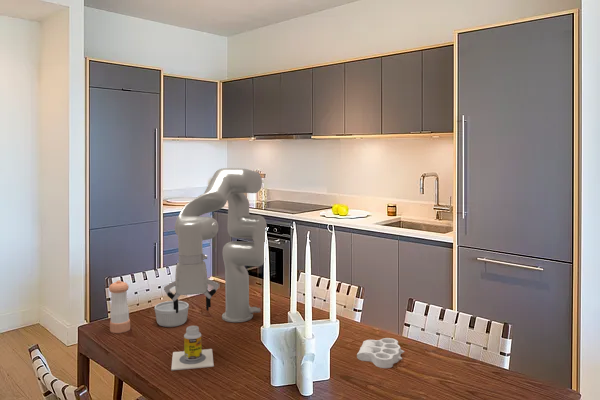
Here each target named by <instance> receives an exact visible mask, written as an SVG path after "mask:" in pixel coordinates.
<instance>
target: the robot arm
mask: <svg viewBox="0 0 600 400" xmlns="http://www.w3.org/2000/svg"><path fill="white" fill-rule="evenodd" d="M262 185H263V180H262V176H261V175H260V173H259V172H258V171H255V170H251V169H247V168H239V167H238V168H237V167H236V168H235V167H234V168H233V167H229V168H227V167H225V168H219V169H217V170H216V171H214V173H213V176H212V178H211V179H210V181H209V183H208V186H207V187H206V189H205V190H204V192H203V193H202V194H200V195H198V196H196V197H194V198H193V199H192V200H190V201H189V202H187V203H186V204H185V205H184V206H183V207H182V209H181V210H180V212H179V214H178V216H177V218H176V220H175V223H174V232H175V234H176V236H177V240H178V242H177V245H178V248H177V249H178V250H177V251H178V262H177V263H176V267H175V279H174V281H172V282H171V283H169V284H167V285H165V286H163V291H164V292H165V294H166V295H167V297H168V298H170V299H171V301H173V305H174V310H176V313H178V301H179V297H180V296H188V295H205V309H206V311H207V312H208V311H210V310H209V308H211V307H212V305H211V302H212V301H211V298H212V297H213V296H214V295H215V294H216V293H217V291H218V288H219V286H220V284H219V282H216V281H214V280H212V279H209V278H208V272H207V271H208V270H207V264H206V261H205V260H208V254H204V253H203V241H209V240H211V239H213V238H215V237H216V236H217V235H218V232H219V230H220V229H219V228H220V227H219V222H218V220H216V219H215V218H213V217H211V216H202V215H205V214H209V213H213V212H216V211H218V210H221V209H223V208H224V207H225V206H226V204H227V207H228V208H227V234H228V235H229V237H231V238H234V239H235V238H237V239H250V240H251V239H252V241H239V240H238V241H237V240H232V241H229V242H227V243H225V244H224V245H223V247H222V258H223V263H224V276H225V277H224V278H225V280H224V281H225V283H224V284H225V288H224V289H225V312H223V313H222V315H221V319H222V320H223V321H225V322H228V323H243V322H249V321H250V320H251V319H253V318H254V314H255V313H261V307H257V306H251V305H250V281H249V280H250V277H249V272H248V270H247V268H246V267H247V266H249V267H261V266H263V265H264V264H265V262H264V242H265V228H266V227H267V228H268V226H267V221H266V219H265V217H264V216H262V215H256V214H250V201H249V199H248V198H247V196H246V194H257V193H259V192H260V190H261V189H262ZM245 266H246V267H245ZM208 285H210V286H212V289H211V290H208V289H209V288H208V287H209V286H208ZM174 287H175V293H173V292H172V291H171V289H172V288H174Z"/></svg>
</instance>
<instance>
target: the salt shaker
mask: <svg viewBox="0 0 600 400" xmlns="http://www.w3.org/2000/svg"><path fill="white" fill-rule="evenodd" d="M129 287H130V286H129V284H128V283H127V282H125V281H121V280H116V281H115V282H113V283H111V284H110V285H109V287H108V291H109V293H111V294H110V295H111V296H110V297H111V298H110V299H111V303H110V312H109V314H110V321H109V331H110V332H111V333H112V334H121V333H122V334H123V333H125V332H128V331H130V330H131V319H130V309H129V305H128V297H127V296H128V295H127V293H128V292H127V291H128V290H129V289H130V288H129Z"/></svg>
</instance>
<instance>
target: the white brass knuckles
mask: <svg viewBox="0 0 600 400" xmlns="http://www.w3.org/2000/svg"><path fill="white" fill-rule="evenodd" d="M403 353H405V350H403V349H401V346H400V345H399V341H398V340H397V339H395V338H392V337H391V338H390V337H385V338H384V337H383V338H381V339H377V340H375V339H366V340H364V341H362V345H361V346H360V347H359V351H358V352H357V354H356V358H357V359H358V360H359V361H361V362H369V363H370V362H371V363H373V365H374V366H376V367H378V368H380V369H390V368H393V366H394V364H397V363H398V362H400V361H401V360H404V358H403V357H402V355H401V354H403Z"/></svg>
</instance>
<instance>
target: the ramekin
mask: <svg viewBox="0 0 600 400" xmlns="http://www.w3.org/2000/svg"><path fill="white" fill-rule="evenodd" d="M189 307H190V305H189V303H188V302H186V301H184V300H183V301H182V300H178V313H176V310H174V305H173V300H166V301H162V302H159V303H157V304H155V306H154V314H155V320H156V322H157V324H158V325H159V326H161V327H163V328H174V327H175V328H176V327H178V326H179V327H180V326H182V325H184V324H185V323H186V322H187V320H188V313H189V312H188V311H189Z"/></svg>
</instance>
